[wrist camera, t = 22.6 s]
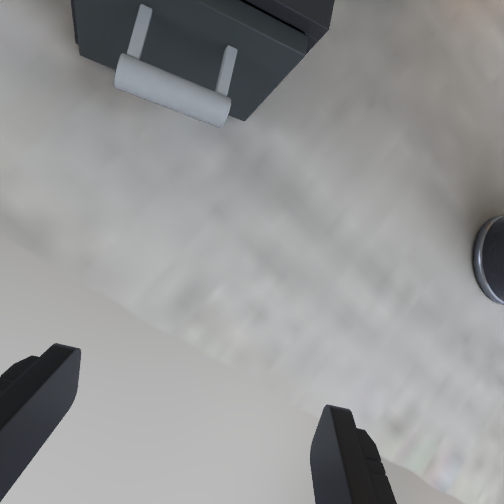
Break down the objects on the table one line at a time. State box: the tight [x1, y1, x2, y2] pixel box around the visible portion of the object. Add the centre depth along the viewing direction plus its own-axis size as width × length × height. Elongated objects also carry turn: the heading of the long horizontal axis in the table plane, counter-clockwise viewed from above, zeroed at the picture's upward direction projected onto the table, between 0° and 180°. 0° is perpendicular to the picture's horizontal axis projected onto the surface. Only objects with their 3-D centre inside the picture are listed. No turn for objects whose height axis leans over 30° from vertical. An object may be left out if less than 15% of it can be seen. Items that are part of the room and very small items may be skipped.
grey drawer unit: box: [74, 0, 309, 128], centre depth 22 cm, size 16×12×9 cm
